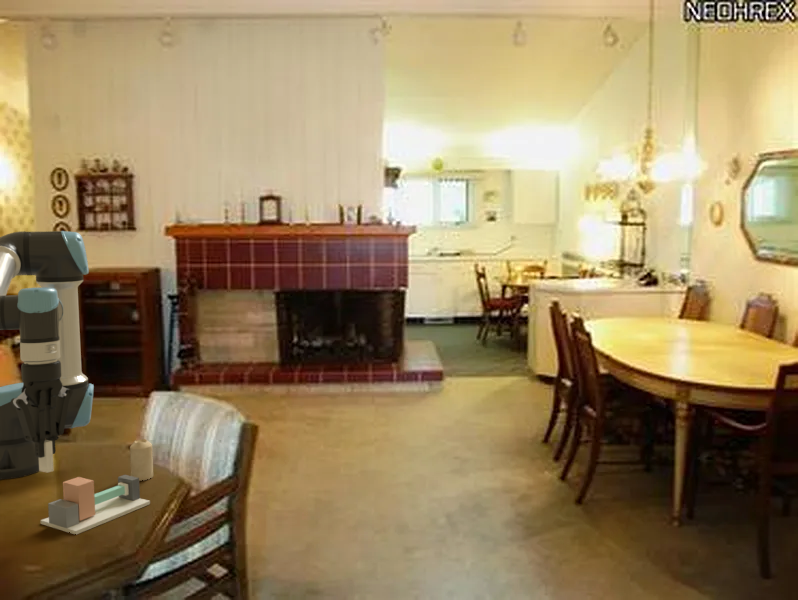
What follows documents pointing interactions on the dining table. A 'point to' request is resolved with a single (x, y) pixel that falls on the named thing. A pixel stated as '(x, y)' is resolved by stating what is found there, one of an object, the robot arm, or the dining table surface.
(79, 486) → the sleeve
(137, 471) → the candle
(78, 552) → the dining table surface
